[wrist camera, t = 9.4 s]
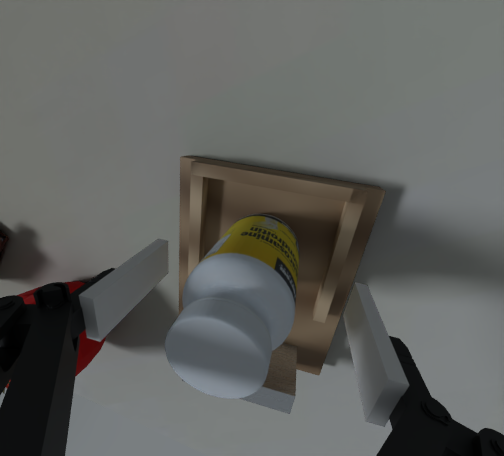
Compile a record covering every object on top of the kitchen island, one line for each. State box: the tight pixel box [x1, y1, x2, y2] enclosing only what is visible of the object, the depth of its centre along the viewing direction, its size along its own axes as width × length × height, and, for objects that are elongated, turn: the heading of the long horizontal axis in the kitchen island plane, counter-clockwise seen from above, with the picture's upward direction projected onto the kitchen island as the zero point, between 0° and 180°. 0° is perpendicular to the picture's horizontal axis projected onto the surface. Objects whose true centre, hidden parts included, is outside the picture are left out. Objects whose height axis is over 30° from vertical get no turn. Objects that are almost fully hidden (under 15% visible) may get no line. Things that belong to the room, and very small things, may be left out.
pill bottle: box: [165, 214, 299, 398], centre depth 15 cm, size 6×6×12 cm
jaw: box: [182, 343, 297, 414], centre depth 23 cm, size 2×10×5 cm, turn 82°
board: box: [179, 156, 386, 375], centre depth 22 cm, size 20×16×3 cm
